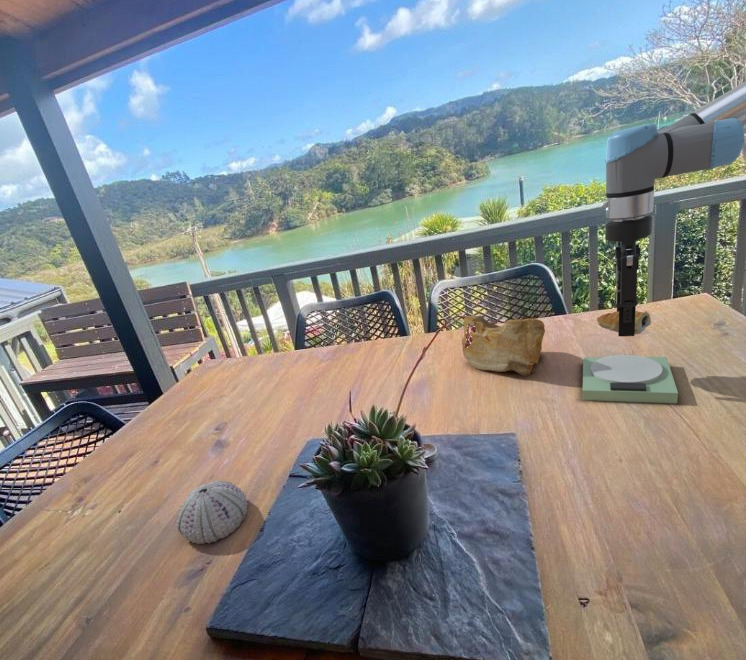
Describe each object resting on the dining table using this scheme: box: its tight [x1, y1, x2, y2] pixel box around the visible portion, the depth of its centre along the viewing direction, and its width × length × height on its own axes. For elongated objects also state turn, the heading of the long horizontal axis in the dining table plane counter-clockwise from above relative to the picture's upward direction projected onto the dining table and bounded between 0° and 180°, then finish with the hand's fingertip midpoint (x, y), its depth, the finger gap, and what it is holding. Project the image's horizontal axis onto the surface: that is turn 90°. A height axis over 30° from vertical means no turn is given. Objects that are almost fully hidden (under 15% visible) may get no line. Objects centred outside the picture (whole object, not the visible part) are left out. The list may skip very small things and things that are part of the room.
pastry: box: [596, 310, 652, 335], centre depth 92 cm, size 9×7×4 cm
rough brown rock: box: [461, 314, 546, 377], centre depth 112 cm, size 23×17×15 cm
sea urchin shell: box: [175, 480, 248, 545], centre depth 82 cm, size 13×14×8 cm
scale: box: [582, 354, 679, 404], centre depth 94 cm, size 16×16×4 cm
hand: (625, 327), depth 91 cm, fingers closed on pastry, 8 cm apart
